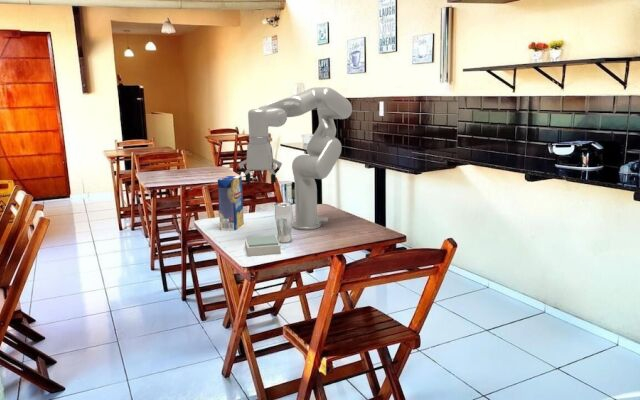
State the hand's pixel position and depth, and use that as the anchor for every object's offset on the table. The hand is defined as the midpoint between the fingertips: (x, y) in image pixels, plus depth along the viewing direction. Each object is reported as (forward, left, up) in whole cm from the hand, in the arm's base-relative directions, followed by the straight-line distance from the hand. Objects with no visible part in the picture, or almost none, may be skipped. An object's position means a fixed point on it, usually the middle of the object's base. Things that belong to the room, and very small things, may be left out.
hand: (260, 184), depth 209 cm
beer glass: (-8, +5, -23) cm, 25 cm away
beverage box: (+11, -23, -23) cm, 34 cm away
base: (+2, +15, -23) cm, 27 cm away
